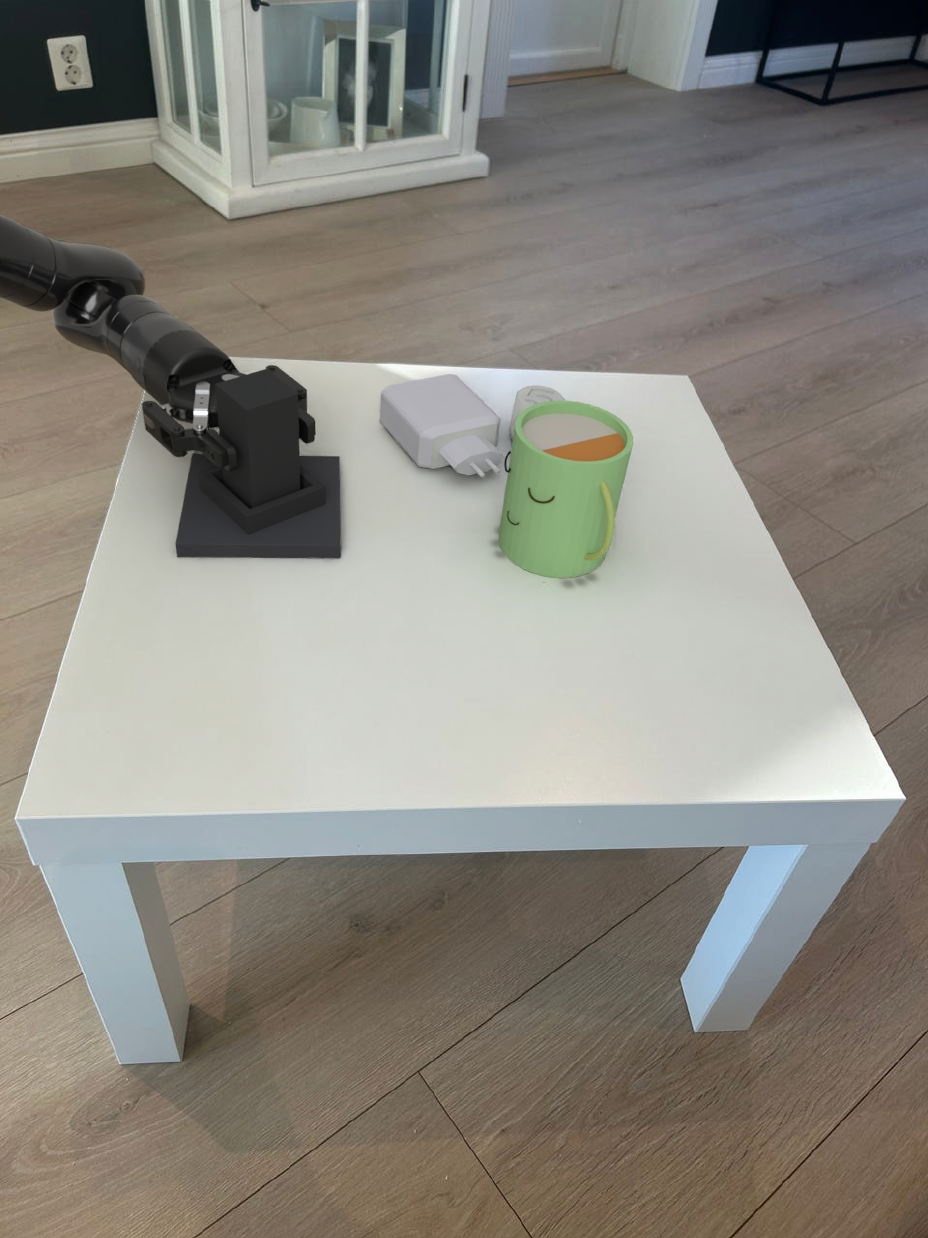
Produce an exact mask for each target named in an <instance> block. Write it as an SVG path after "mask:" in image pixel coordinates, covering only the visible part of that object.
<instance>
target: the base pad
mask: <svg viewBox="0 0 928 1238" xmlns="http://www.w3.org/2000/svg"><path fill="white" fill-rule="evenodd" d="M340 458H341V457H340V456H339V455H302V454H300V490H299V491H297V492H294V493H291V494H289V495H286V496H283V497H281V498H278V499H276V500H273V501H270V502H268V503H265V504H262V505H260V506H257V507H254V508H252V509H249V508H248V507H247V506H246V505H245V504H244V503H242V502H241V501H240V500H239V499H238V498H237V497H236V496H235V495H234V494H233V493H232V492H231V491H230V490H228V489H227V488H226V487H225V486H224V479H223V468H220V467H218V466H216V465H215V464H214V463H213V462H211V461H210V460H209V459H208V458H207V457H206V456H205V455H204V454H198V453H196V452H192V454H191V459H190V464H189V468H188V469H189V470H188V475H187V480H186V485H185V491H184V496H183V500H182V506H181V513H180V517H179V523H178V529H177V534H176V538H175V548H176V549H175V551H176V556H177V558H259V559H261V558H264V559H265V558H267V559H270V558H271V559H273V558H275V559H341V557H342V554H341V553H342V540H341V539H342V538H341V537H342V535H341V534H342V532H341V531H342V530H341V529H342V527H341V526H342V525H341V466H340V465H341V464H340V463H341V461H340V460H341V459H340Z"/></svg>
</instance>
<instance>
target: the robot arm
mask: <svg viewBox="0 0 928 1238" xmlns="http://www.w3.org/2000/svg"><path fill="white" fill-rule="evenodd" d="M145 290H146V279H145V276H144V273H143V272H142V269H141V268H140V266H139V265H138V263H137V262H135V261H134V260H133V259H132V258H131V257H130V256H129V255H127V254H125V253H123V252H121V251H120V250H117V249H114V248H111V247H108V246H104V245H98V244H93V243H85V242H84V243H83V242H74V241H73V242H72V241H67V240H61V239H56V238H52V237H50V236H47V235H45V234H43V233H41V232H39V231H37V230H35V229H33V228H31V227H29V226H27V225H25V224H23V223H20V222H18V221H17V220H14V219H13V218H10V217H9V216H8V217H7V216H6V215H2V214H0V299H1V300H4V301H7V302H9V303H12V304H15V305H17V306H20V307H22V308H25V309H26V310H27V309H28V310H31V311H34V312H43V313H44V312H49V311H51V318H52V322H53V325H54V328H55V329H56V331H57V332H58V334H59V335H60V336H62V337H63V339H65V340H66V341H67V342H69V343H71V344H73V345H75V346H77V347H80V348H82V349H85V350H87V351H91V352H95V353H98V354H103V355H106V356H109V357H110V358H111V359H113V360H114V361H115V362H116V363H118V364H119V365H120V366H121V367H122V368H123V369H124V370H125V371H126V372H128V374H130V376H131V377H132V379H133V380H134V381H135V382H136V383H137V385H139V387H141V388H142V389H143V390H144V391H145V392H146V393H147V394H148V395H149V396H151V398H153V399H154V400H155V401H154V400H145V401H143V402H142V403H141V408H142V416H143V422H144V428H145V429H144V430H145V431H146V432H147V433H148V434H149V435H151V436H152V437H153V439H155V440H156V441H157V442H158V443H159V444H160V445H162V446H163V447H164V448H165V450H167V451H168V452H169V453H170V454H171V455H172V456H174V457H177V458H184V457H185V456H187V454H188V452H193V451H194V453H198V454H204V455H205V456H206V457H207V458H208V459H209V460H210V461H211V462H213V463H214V464H215V465H216V466H218V467H220V468H222V467H224V468H225V469H226V470H227V471H231V470H234V469H237V456H236V450H235V448H234V447H233V446H232V445H231V444H230V443H229V442H228V441H227V440H225V439H224V438H223V437H222V436H221V435H220V434H219V432H218V431H216V430H215V429H216V428H217V429H219V423H218V412H217V401H216V389H215V384H216V383H220V382H223V381H227V380H230V379H233V378H237V377H240V376H244V375H247V374H248V373H243V372H241V371H239V370H238V368H237V367H236V365H235V364H234V363H233V360H231V358H230V357H229V356H228V355H227V354H226V353H225V352H224V351H223V350H222V349H220V348H219V347H218V346H217V345H215V344H214V343H212V342H211V341H210V340H209V339H207V338H206V337H205V336H204V335H202V334H201V333H200V332H199V331H197V330H196V329H194V327H192V326H191V325H190V324H188V323H186V322H185V321H184V320H181V319H179V318H177V317H175V316H174V315H173V314H172V313H170V312H169V311H168V310H166V309H165V308H164V307H163V306H162V305H160V304H159V303H158V302H157V301H155V300H153V299H152V298H151V297H148V296H146V295H144V294H145ZM265 369H267V370H268V371H269V372H270V373H272V374H273V375H274V376H276V377H277V378H278V379H279V380H281V381H282V382H283V383H285V384H286V385H287V386H289V387H290V388H291V389H292V390H294V391H295V392H296V393H298V412H299V440H301V442H302V443H304V444H306V445H309V444H311V443H314V442H315V440H316V435H317V434H316V432H317V431H316V429H317V427H316V419H315V417H313V416H312V415H311V414H309V413H308V390H307V388H306V387H305V386H303V385H302V384H301V383H300V382H298V381H297V380H296V379H295V378H293V377H292V376H291V375H289V374H288V373H287V372H285V371H284V370H283V369H282V368H280V367H279V366H278V365H276V364H269V365H267V366H265ZM178 421H179V422H182V423H187V424H192V427H191V428H186V429H185V427H184V426H183V425H182V424H181V423H179V422H178ZM214 428H215V429H214Z"/></svg>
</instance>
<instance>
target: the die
mask: <svg viewBox="0 0 928 1238" xmlns="http://www.w3.org/2000/svg"><path fill="white" fill-rule="evenodd" d="M548 401H566V399H565V398H564V396H563V395H562V394H561V392H559V391H557V390H556V389H554V388H551V387H548V386H545V385H528V386H525V387H522V388H521V389H519V390H517V392H516V393H515V398H514V401H513V407H512V412H511V418H510V424H509V432H508V436H509V438H510V440H511V441H513V435H514V428H515V422H516V419H517V417H518V416H519V414H520V413H521V412H522V411H523V410H525V409H526V408H528V407H530V406H532V405H535V404H538V403H542V402H548Z"/></svg>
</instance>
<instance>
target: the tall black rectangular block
mask: <svg viewBox="0 0 928 1238" xmlns="http://www.w3.org/2000/svg"><path fill="white" fill-rule="evenodd" d="M246 374H247V375H244V376H240V377H237V378H233V379H230V380H227V381H223V382H220V383H216V384H215V389H216V401H217V412H218V423H219V428H218V433H219V434H220V435H221V436H222V437H223V438H224V439H225V440H227V441H228V442H229V443H230V444H231V445H232V446H233V447H234V448H235V450H236V456H237V469H234V470H231V471H227V470H226V469H225V468H224V467H222V468H223V479H224V486H225V487H226V488H227V489H228V490H230V491H231V492H232V493H233V494H234V495H235V496H236V497H237V498H238V499H239V500H240V501H241V502H242V503H244V504H245V505H246V506H247V507H248V508H249V509H252V508H254V507H257V506H260V505H262V504H265V503H268V502H270V501H273V500H276V499H278V498H281V497H283V496H286V495H289V494H291V493H294V492H297V491H299V490H300V455H301V454H300V439H299V412H298V393H296V392H295V391H294V390H292V389H291V388H290V387H289V386H287V385H286V384H285V383H283V382H282V381H281V380H279V379H278V378H277V377H276V376H274V375H273V374H272V373H270V372H269V371H268V370H267V369H266V368H265V369H261V370H258V371H254V372H250V373H246Z"/></svg>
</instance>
